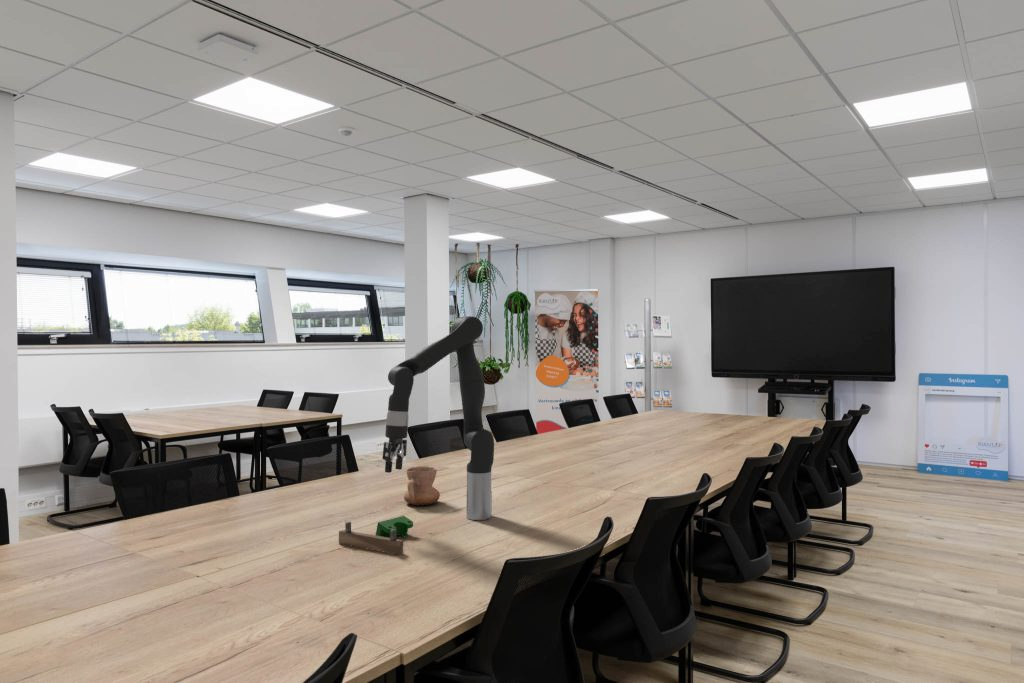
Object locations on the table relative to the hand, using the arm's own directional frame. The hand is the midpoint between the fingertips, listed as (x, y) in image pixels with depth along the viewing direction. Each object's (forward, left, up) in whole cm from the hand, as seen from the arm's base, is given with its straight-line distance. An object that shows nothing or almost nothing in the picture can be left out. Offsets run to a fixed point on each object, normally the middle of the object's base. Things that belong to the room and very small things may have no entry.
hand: (393, 470), depth 223 cm
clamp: (+6, +6, -21) cm, 23 cm away
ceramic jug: (-36, -13, -21) cm, 43 cm away
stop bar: (+19, +6, -21) cm, 29 cm away
